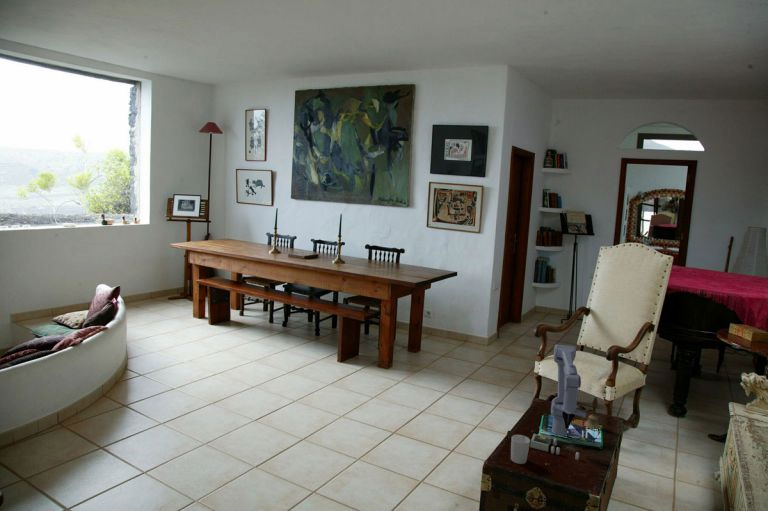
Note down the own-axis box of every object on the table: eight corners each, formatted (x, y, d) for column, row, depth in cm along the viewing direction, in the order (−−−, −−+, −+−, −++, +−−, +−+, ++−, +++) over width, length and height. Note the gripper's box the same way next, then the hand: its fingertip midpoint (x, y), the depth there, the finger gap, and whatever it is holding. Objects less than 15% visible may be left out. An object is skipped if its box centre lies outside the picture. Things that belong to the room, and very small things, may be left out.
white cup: (528, 466, 228) (530, 444, 227) (509, 463, 230) (511, 441, 228) (527, 457, 236) (529, 436, 234) (509, 454, 237) (511, 433, 236)
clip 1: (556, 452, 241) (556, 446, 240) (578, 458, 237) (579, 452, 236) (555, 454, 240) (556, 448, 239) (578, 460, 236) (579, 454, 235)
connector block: (538, 443, 249) (539, 434, 249) (547, 445, 248) (547, 436, 247) (536, 446, 246) (537, 438, 245) (545, 449, 244) (546, 440, 243)
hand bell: (600, 432, 265) (604, 402, 262) (583, 428, 268) (587, 398, 265) (600, 425, 272) (604, 396, 270) (583, 421, 275) (587, 392, 273)
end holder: (533, 439, 252) (533, 433, 252) (550, 443, 249) (551, 437, 249) (530, 447, 245) (530, 441, 244) (547, 451, 241) (548, 445, 241)
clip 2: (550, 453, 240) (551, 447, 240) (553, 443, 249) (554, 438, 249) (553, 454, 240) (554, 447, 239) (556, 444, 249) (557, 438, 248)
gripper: (552, 399, 241) (549, 427, 243) (586, 407, 235) (582, 435, 237) (554, 394, 247) (551, 421, 249) (587, 401, 241) (584, 429, 243)
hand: (567, 428), depth 243 cm, fingers closed
